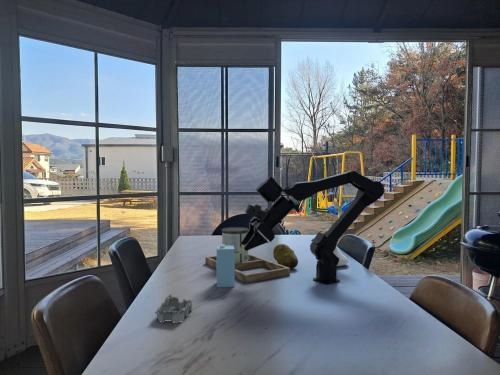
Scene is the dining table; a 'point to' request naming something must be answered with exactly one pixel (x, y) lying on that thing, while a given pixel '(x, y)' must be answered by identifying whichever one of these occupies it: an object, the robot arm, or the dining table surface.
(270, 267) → the light wood flat frame
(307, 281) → the dining table surface
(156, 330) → the dining table surface
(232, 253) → the milk carton
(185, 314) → the egg carton
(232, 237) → the coffee can
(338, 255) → the flower in vase
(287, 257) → the potato
